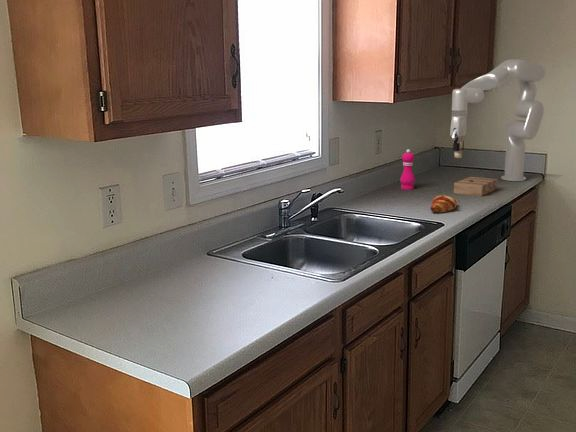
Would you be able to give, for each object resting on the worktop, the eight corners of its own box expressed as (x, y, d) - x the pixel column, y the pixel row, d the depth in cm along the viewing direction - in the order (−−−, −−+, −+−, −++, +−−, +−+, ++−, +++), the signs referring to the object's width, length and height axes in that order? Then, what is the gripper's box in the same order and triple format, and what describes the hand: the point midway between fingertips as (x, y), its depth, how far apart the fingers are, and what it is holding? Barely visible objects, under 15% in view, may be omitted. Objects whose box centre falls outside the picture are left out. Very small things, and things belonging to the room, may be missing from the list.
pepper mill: (415, 189, 325) (416, 150, 320) (401, 190, 325) (402, 150, 320) (413, 187, 332) (414, 148, 327) (399, 187, 332) (400, 148, 327)
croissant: (448, 211, 293) (442, 195, 294) (468, 204, 287) (460, 187, 287) (426, 220, 277) (419, 203, 278) (446, 212, 271) (438, 194, 271)
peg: (455, 156, 331) (456, 133, 329) (463, 157, 329) (464, 133, 326) (452, 157, 328) (453, 134, 325) (460, 158, 326) (461, 134, 323)
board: (469, 186, 331) (470, 176, 330) (496, 189, 322) (497, 179, 321) (453, 193, 315) (454, 183, 314) (481, 196, 307) (482, 185, 306)
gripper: (459, 112, 332) (458, 147, 336) (445, 115, 319) (444, 152, 324) (473, 112, 327) (471, 148, 332) (459, 115, 315) (458, 153, 319)
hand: (458, 149), depth 328 cm, fingers closed on peg, 4 cm apart
